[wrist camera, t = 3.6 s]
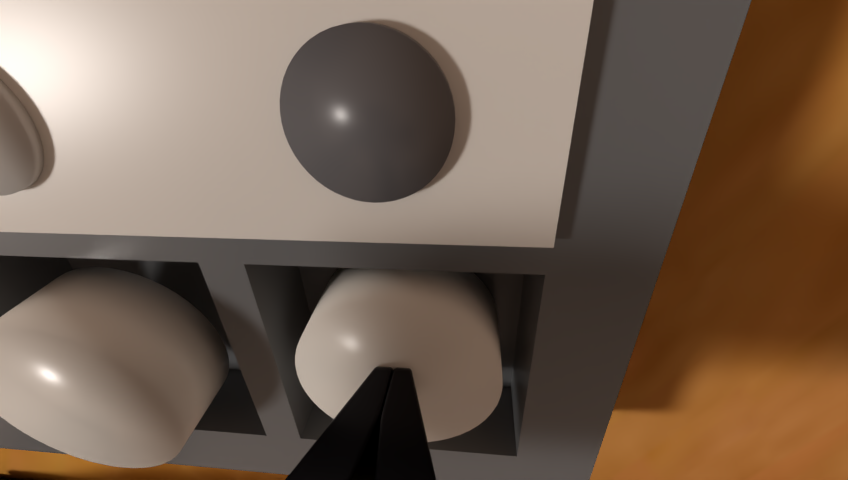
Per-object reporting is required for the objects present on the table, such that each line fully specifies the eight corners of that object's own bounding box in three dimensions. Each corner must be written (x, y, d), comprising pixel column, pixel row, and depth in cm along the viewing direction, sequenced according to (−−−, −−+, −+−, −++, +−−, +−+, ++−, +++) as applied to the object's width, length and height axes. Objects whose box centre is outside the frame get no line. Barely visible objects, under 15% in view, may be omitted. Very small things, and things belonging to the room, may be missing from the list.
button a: (492, 384, 12) (495, 449, 10) (336, 374, 12) (314, 434, 11) (504, 249, 9) (511, 305, 8) (307, 243, 10) (273, 295, 8)
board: (562, 410, 14) (586, 521, 11) (-37, 368, 17) (-147, 449, 14) (685, -115, 7) (849, -196, 4) (-418, -47, 9) (-833, -65, 6)
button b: (249, 405, 12) (211, 475, 10) (98, 394, 12) (38, 458, 10) (194, 270, 9) (131, 334, 7) (7, 263, 10) (-92, 321, 8)
